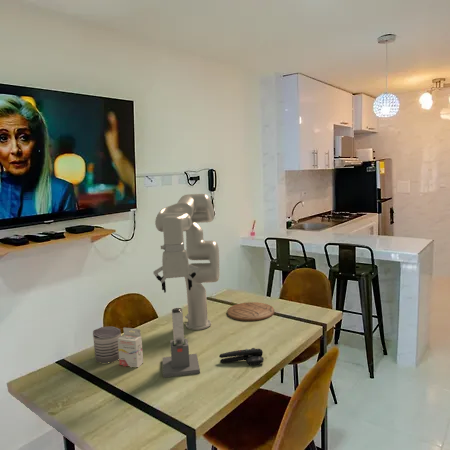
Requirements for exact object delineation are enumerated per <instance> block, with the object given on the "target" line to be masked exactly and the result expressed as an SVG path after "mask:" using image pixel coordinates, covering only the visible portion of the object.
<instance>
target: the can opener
mask: <svg viewBox="0 0 450 450" xmlns="http://www.w3.org/2000/svg"><path fill="white" fill-rule="evenodd" d="M263 353H264V352H263V350H262V349H261V348H255V347H252V348H250V349H249V348H245V349H240V350H239V349H238V350H234V351H228V352H223V353H220V354H219V358H220V360H219V361H220V363H221V364H231V363H235V362H241V361H245V363H246V364H247V365H248V366H257V365H259V366H260V365H261V364H263V363H264V357H263V355H264V354H263Z"/></svg>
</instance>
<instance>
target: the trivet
mask: <svg viewBox="0 0 450 450" xmlns="http://www.w3.org/2000/svg"><path fill="white" fill-rule="evenodd" d="M226 313H227V317H229V318H230V319H233V320H236V321H240V322H241V321H242V322H258V321H263V320H268V319H270V318H272V317H273V316H274V314H275V308H274V307H273V306H272V305H270V304H267V303H264V302H257V301H254V302H253V301H251V302H250V301H249V302H242V303H241V302H240V303H236V304H234V305H231V306H230V307H228V308H227V312H226Z"/></svg>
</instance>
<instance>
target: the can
mask: <svg viewBox="0 0 450 450" xmlns="http://www.w3.org/2000/svg"><path fill="white" fill-rule="evenodd" d="M121 336H122V331H121V328H118V327H116V326H101V327H99V328H96V329H93V331H92V337H93V348H94V349H93V351H94V359H96V360H95V361H96V363H97V362H101V363H107V364H109V363H108V362H113V361H116V360H118V359H119V350H118V338H119V337H121ZM118 361H119V360H118ZM116 362H117V361H116ZM101 363H100V364H101ZM113 363H114V362H113Z"/></svg>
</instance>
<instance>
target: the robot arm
mask: <svg viewBox="0 0 450 450" xmlns="http://www.w3.org/2000/svg"><path fill="white" fill-rule="evenodd" d="M214 219H215V209H214V206H213V204H212V200H211V198H210V197H209V195H207V194H205V193H193V194H190V193H188V194H184V195H182V196H181V197H180V198H179V199H178V201H177V203H174V204H171V205H169V206H166V207H164V208H161V210H159V212H158V213H157V215H156V217H155V219H154V220H155V221H154V223H155V224H154V225H155V228H156V230H157V231H159V232H161V233H163V244H162V245H160V250H164V251H162V261H161V263H162V264H161V266H160V267H158V268H157V269H155V270H154V271H153V275H154V276H155V278H156V279H157V280H158V281H159V282H160V283H161V290H162V291H163V293H166V292H167V289H166V288H167V287H166V280H167V279H174V278H175V279H176V278H184V282H185V289H186V299H187V301H186V302H187V314H186V315H185V316H184V318H185V319H186V320H187V322H186V323H185V327H186V328H187V329H188V330H193V331H200V330H205V329H208V328H210V326H211V325H212V321H211V320H210V319H208V318H209V317H208V316H209V315H208V302H207V299H208V298H207V289H206V288H205V286H204V285H203V283H204V284H205V283H206V284H207V283H216V282H218V281H219V280H220V276H221V275H220V274H221V273H220V248H219V245H218V243H217V241H215V240H204V230H203V229H202V227H201V226H200V224H199V223H201V224H202V223H211V222H213V221H214ZM184 232H185V240H184ZM184 241H185V242H184ZM185 247H186V249H185ZM189 260H190V261H208V262H194V263H193V262H192V263H190V262H189ZM160 272H162V276H160V274H159V273H160Z"/></svg>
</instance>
